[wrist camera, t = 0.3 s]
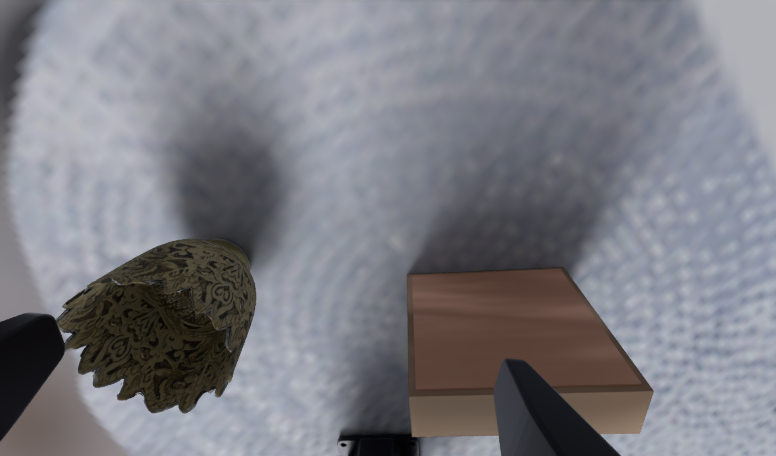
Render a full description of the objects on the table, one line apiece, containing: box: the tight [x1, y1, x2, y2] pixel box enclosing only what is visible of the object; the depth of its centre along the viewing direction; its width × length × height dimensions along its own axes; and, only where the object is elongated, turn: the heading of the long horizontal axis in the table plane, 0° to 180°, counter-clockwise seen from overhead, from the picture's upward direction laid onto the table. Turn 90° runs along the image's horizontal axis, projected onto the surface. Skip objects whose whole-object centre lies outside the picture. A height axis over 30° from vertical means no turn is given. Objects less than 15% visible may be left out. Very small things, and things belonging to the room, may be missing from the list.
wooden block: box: [407, 267, 654, 437], centre depth 19 cm, size 3×10×9 cm, turn 95°
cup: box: [56, 239, 256, 413], centre depth 19 cm, size 8×7×8 cm
